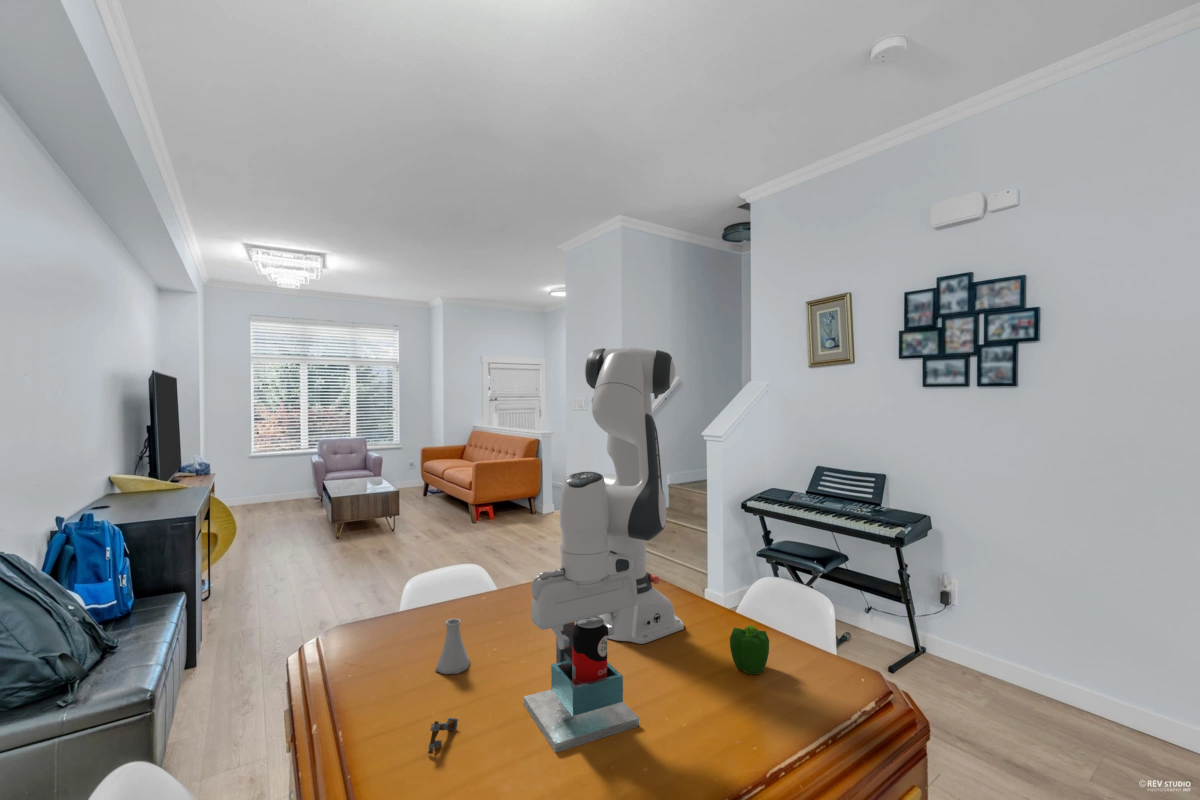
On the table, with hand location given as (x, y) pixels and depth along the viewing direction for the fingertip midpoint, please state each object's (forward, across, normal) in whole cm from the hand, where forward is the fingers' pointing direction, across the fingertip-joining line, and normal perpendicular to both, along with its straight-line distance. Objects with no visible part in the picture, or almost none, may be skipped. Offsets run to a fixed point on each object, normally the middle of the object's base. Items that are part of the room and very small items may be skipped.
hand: (586, 640), depth 95 cm
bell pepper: (+16, +40, -1) cm, 43 cm away
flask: (+15, -15, +33) cm, 39 cm away
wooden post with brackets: (+14, -24, +8) cm, 29 cm away
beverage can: (+9, 0, 0) cm, 9 cm away
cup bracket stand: (+15, 0, +3) cm, 15 cm away
